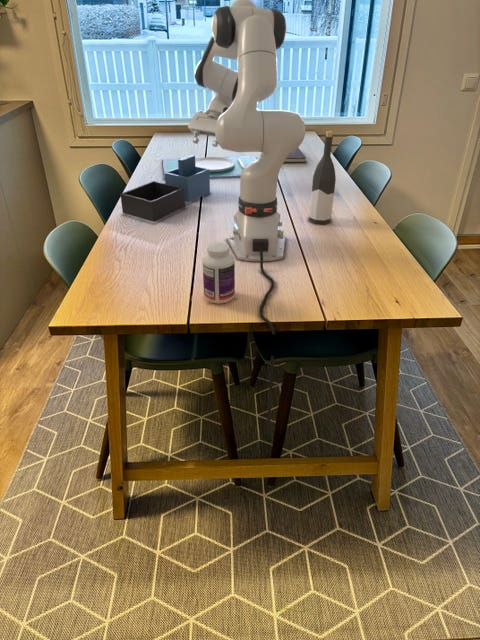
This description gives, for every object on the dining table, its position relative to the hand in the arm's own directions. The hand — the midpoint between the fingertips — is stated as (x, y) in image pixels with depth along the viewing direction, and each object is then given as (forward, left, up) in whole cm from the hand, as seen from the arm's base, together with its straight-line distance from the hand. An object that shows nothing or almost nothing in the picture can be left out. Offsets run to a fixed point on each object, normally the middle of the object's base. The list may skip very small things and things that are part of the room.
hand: (204, 144), depth 184 cm
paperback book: (+48, -40, -17) cm, 65 cm away
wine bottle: (-35, -40, -18) cm, 56 cm away
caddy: (-9, +7, -18) cm, 21 cm away
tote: (-25, +19, -18) cm, 36 cm away
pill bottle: (-86, -3, -18) cm, 88 cm away
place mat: (+29, -3, -18) cm, 34 cm away
